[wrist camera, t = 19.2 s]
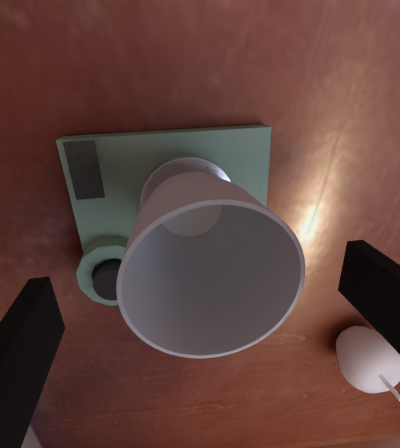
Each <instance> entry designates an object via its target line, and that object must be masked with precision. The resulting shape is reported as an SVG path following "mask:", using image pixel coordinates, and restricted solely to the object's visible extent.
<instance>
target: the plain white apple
mask: <svg viewBox="0 0 400 448" xmlns="http://www.w3.org/2000/svg"><path fill="white" fill-rule="evenodd" d="M336 351H337V358H338V363H339V367H340V370H341V372H342V374H343V376H344V377H345V379H346V380H347V381H348V382H349V383H350V384H351V385H353V386H354V387H356V388H357V389H359V390H361V391H364V392H367V393H379V392H385V391H389V390H390V391H391V392H392V393H393V394H394V395H395V396H396V398H397V399H398V400H399V401H400V395H399V393H398V392H397V391H396V390H395V389H394V388H393V387H394V386H395V385H396V384H397V383H399V382H400V354H399V353H398V352H397V351H396V350H395V349H394V348H393V347H392V346H391V345H390V344H389V343H388V342H387V341H386V340H385V339H384V338H383V337H382V335H381V334H380V333H379V332H376V331H374V330H371V329H369V328H366V327H363V326H352V327H349V328H347V329H345V330H344V331H342V332H341V333H340V335H339V336H338V338H337V340H336Z"/></svg>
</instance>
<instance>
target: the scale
mask: <svg viewBox="0 0 400 448" xmlns="http://www.w3.org/2000/svg"><path fill="white" fill-rule="evenodd" d="M271 129H272V127H271V126H267V125H264V124H258V125H242V126H225V127H209V128H192V129H175V130H159V131H142V132H125V133H109V134H92V135H75V136H63V137H61V138H59V139H57V140H56V144H57V148H58V152H59V156H60V160H61V164H62V168H63V172H64V176H65V180H66V184H67V188H68V192H69V196H70V200H71V205H72V209H73V213H74V217H75V221H76V225H77V229H78V233H79V237H80V241H81V245H82V249H83V253H84V254H83V256H82V259H81V261H80V264H79V266H78V268H77V271H76V276H77V280H78V284H79V287H80V290H81V291H83V292H84V293H85V294H86V295H87V296H88V297H89V298H90V299H91V300H92V301H95V302H98V303H102V304H105V305H109V306H114V305H118V300H114V301H111V300H106V299H103V298H101V297H100V296H98V295H97V294H96V292H95V291H94V288H93V281H94V278H95V275H96V271H97V269H98V267H99V266H100V265H101V264H102V263H104V262H106V261H109V260H120V261H122V259H123V256H124V253H125V250H126V246H127V243H128V240H129V237H130V234H131V231H132V228H133V225H134V222H135V220H136V217H137V215H138V214H139V212H140V195H141V191H142V187H143V185H144V182H145V180H146V179H147V177H148V176H149V174H150V173H151V172H152V171H153V170H154V169H155V168H156V167H157V166H158V165H160V164H161V163H163V162H164V161H166V160H169V159H171V158H174V157H178V156H184V155H193V156H200V157H203V158H206V159H208V160H211V161H212V162H214V163H216V164H217V165H218V166H219V167H221V168H222V170H223V171H224V172H225V173H226V174H227V175H228V177H229V178H230V180H231V182H232V183H234V184H236V185H238V186H239V187H241V188H242V189H244V190H245V191H247V192H248V193H249V194H250V195H252V196H253V197H254V198H255V199H257V200H258V201H259V202H260V203H262V204H263V205H264V206H265V207H267V194H268V177H269V161H270V145H271ZM93 140H94V141H95V146H96V151H97V156H98V161H99V167H100V172H101V177H102V182H103V188H104V193H105V198H95V199H83V200H76V197H75V193H74V188H73V184H72V180H71V176H70V172H69V167H68V163H67V159H66V155H65V151H64V146H63V142H77V141H93Z"/></svg>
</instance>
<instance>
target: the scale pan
mask: <svg viewBox="0 0 400 448" xmlns="http://www.w3.org/2000/svg"><path fill="white" fill-rule="evenodd" d="M63 146H64V151H65V155H66V159H67V163H68V167H69V172H70V176H71V180H72V184H73V188H74V193H75V197H76V200H83V199H95V198H105V193H104V188H103V182H102V177H101V172H100V167H99V161H98V156H97V151H96V146H95V141H94V140H93V141H77V142H63ZM192 171H197V172H205V173H209V174H212V175H215V176H217V177H220V178H222V179H224V180H227V181H229V182H231V180H230V178H229V177H228V175H227V174H226V173H225V172H224V171H223V170H222V168H221V167H219V166H218V165H217V164H216V163H214V162H212V161H211V160H208V159H206V158H203V157H200V156H193V155H184V156H178V157H174V158H171V159H169V160H166V161H164V162H163V163H161V164H160V165H158V166H157V167H156V168H155V169H154V170H153V171H152V172H151V173H150V174H149V176H148V177H147V179H146V180H145V182H144V185H143V187H142V191H141V195H140V210H141V209H142V207H143V206H144V204H145V203H146V201H147V200H148V198H149V197H150V195H151V194H152V192H153V191H154V190H155V189H156V188H157V187H158V186H159V185H160V184H161V183H162V182H164V181H165V180H167V179H168V178H170V177H172V176H174V175H177V174H180V173H184V172H192ZM231 183H232V182H231Z"/></svg>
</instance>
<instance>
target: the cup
mask: <svg viewBox="0 0 400 448" xmlns="http://www.w3.org/2000/svg"><path fill="white" fill-rule="evenodd" d="M304 279H305V260H304V255H303V251H302V248H301V245H300V243H299V241H298V239H297V237H296V236H295V234H294V232H293V231H292V230H291V229H290V227H289V226H288V225H287V224H286V223H285V222H284V221H283V220H282V219H280V218H279V217H278V216H277V215H275V214H274V213H273V212H272V211H270V210H269V209H268V208H267V207H265V206H264V205H263V204H262V203H260V202H259V201H258V200H257V199H255V198H254V197H253V196H252V195H250V194H249V193H248V192H247V191H245V190H244V189H242V188H241V187H239V186H238V185H236V184H234V183H231V182H229V181H227V180H224V179H222V178H220V177H217V176H215V175H212V174H209V173H205V172H197V171H192V172H184V173H180V174H177V175H174V176H172V177H170V178H168V179H167V180H165V181H164V182H162V183H161V184H160V185H159V186H158V187H157V188H156V189H155V190H154V191H153V192H152V194H151V195H150V197H149V198H148V200H147V201H146V203H145V204H144V206H143V207H142V209H141V210H140V212H139V214H138V215H137V217H136V220H135V222H134V225H133V228H132V231H131V234H130V237H129V240H128V243H127V246H126V250H125V253H124V256H123V259H122V262H121V265H120V268H119V272H118V277H117V285H116V291H117V300H118V305H119V308H120V311H121V313H122V316H123V318H124V320H125V321H126V323H127V324H128V326H129V327H130V328H131V330H132V331H133V332H134V333H135V334H136V335H137V336H138V337H139V338H140V339H142V340H143V341H144V342H146V343H147V344H149V345H150V346H152V347H154V348H156V349H158V350H160V351H163V352H165V353H168V354H171V355H175V356H180V357H187V358H212V357H219V356H224V355H228V354H232V353H235V352H238V351H241V350H243V349H246V348H248V347H250V346H252V345H254V344H256V343H258V342H259V341H261V340H262V339H264V338H265V337H267V336H268V335H270V334H271V333H272V332H273V331H274V330H276V329H277V328H278V327H279V326H280V325H281V324H282V323H283V322H284V321H285V319H286V318H287V317H288V316H289V314H290V313H291V311H292V310H293V308H294V307H295V305H296V303H297V301H298V299H299V297H300V294H301V291H302V288H303V284H304Z"/></svg>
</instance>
